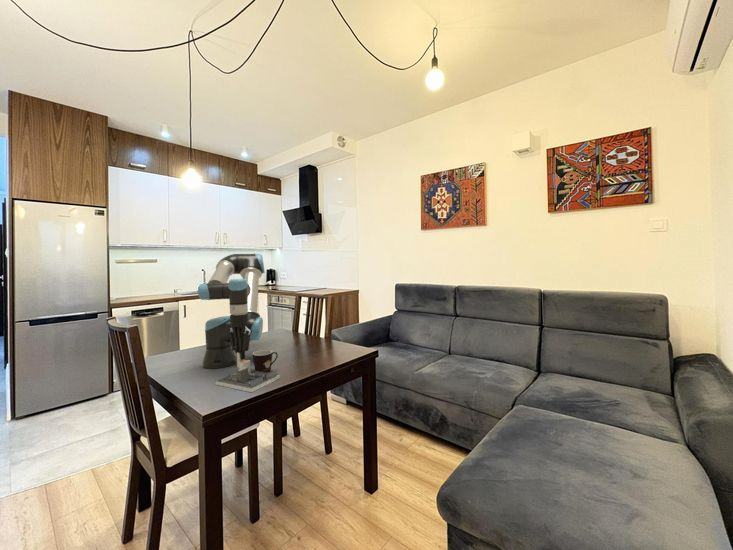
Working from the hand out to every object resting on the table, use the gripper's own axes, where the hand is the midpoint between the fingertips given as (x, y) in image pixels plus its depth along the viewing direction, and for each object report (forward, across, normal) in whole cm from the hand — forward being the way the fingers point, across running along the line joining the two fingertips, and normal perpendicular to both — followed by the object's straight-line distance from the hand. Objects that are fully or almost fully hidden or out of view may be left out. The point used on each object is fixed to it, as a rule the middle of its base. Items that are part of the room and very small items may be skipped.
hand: (240, 366), depth 140 cm
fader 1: (+3, +2, 0) cm, 3 cm away
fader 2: (+3, +9, -7) cm, 12 cm away
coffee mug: (+5, +8, +8) cm, 12 cm away
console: (+4, +8, -3) cm, 10 cm away
